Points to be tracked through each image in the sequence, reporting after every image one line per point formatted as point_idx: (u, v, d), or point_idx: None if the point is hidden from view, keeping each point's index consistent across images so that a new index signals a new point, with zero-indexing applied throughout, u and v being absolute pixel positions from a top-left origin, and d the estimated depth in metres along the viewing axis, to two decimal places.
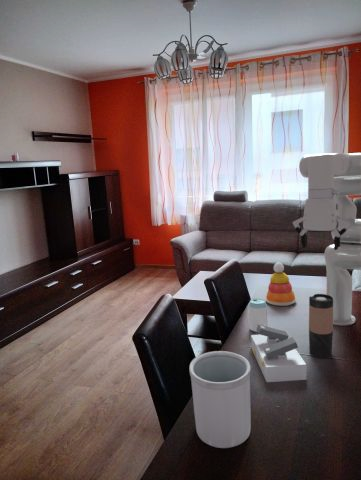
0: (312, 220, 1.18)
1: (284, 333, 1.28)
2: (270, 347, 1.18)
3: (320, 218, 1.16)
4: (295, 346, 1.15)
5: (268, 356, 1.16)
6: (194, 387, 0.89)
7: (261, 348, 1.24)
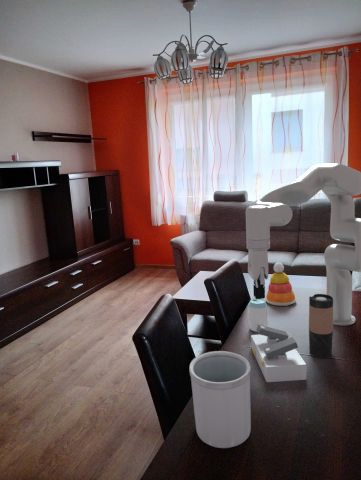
0: None
1: (284, 333, 1.28)
2: (270, 347, 1.18)
3: None
4: (295, 346, 1.15)
5: (268, 356, 1.16)
6: (194, 387, 0.89)
7: (261, 348, 1.24)
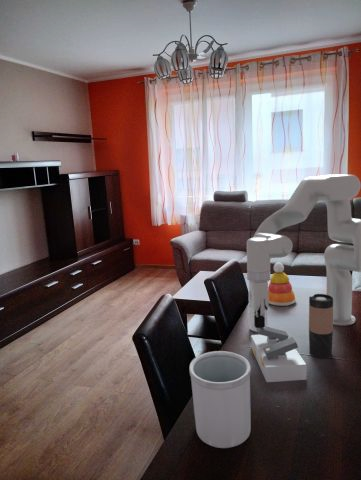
0: None
1: (284, 333, 1.28)
2: (270, 347, 1.18)
3: None
4: (295, 346, 1.15)
5: (268, 356, 1.16)
6: (194, 387, 0.89)
7: (261, 348, 1.24)
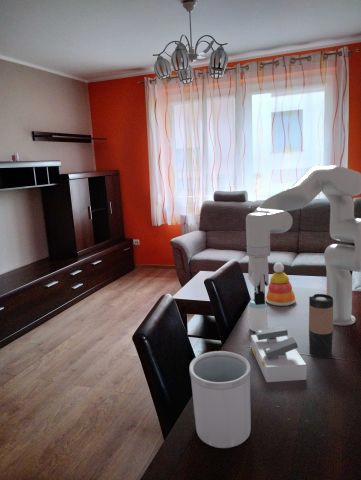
0: None
1: (282, 328, 1.27)
2: (270, 347, 1.18)
3: None
4: (295, 346, 1.15)
5: (268, 356, 1.16)
6: (194, 387, 0.89)
7: (261, 348, 1.24)
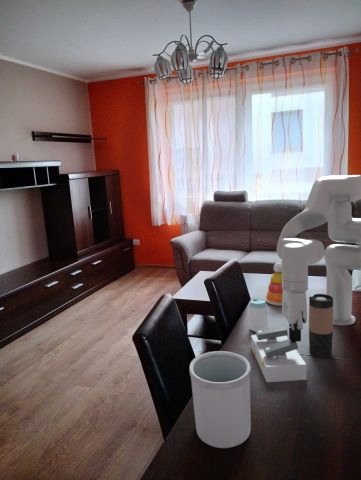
0: None
1: (282, 328, 1.27)
2: (270, 346, 1.18)
3: None
4: (295, 347, 1.15)
5: (268, 355, 1.16)
6: (194, 387, 0.89)
7: (261, 348, 1.24)
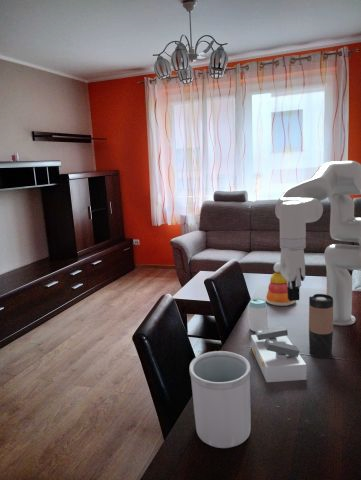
0: None
1: (282, 328, 1.27)
2: (273, 342, 1.17)
3: None
4: (296, 354, 1.16)
5: (269, 347, 1.15)
6: (194, 387, 0.89)
7: (261, 348, 1.24)
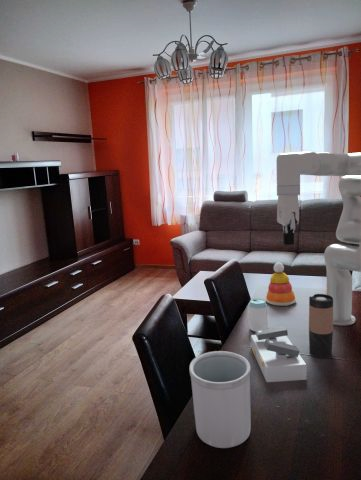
0: None
1: (282, 328, 1.27)
2: (273, 342, 1.17)
3: None
4: (296, 354, 1.16)
5: (269, 347, 1.15)
6: (194, 387, 0.89)
7: (261, 348, 1.24)
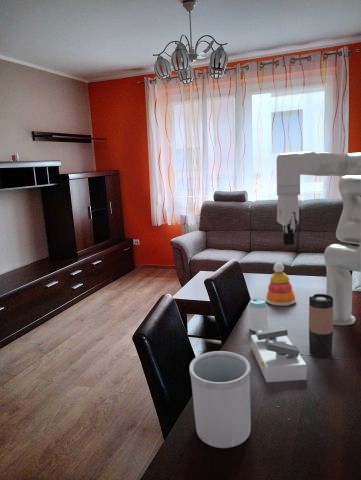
0: None
1: (282, 328, 1.27)
2: (273, 342, 1.17)
3: None
4: (296, 354, 1.16)
5: (269, 347, 1.15)
6: (194, 387, 0.89)
7: (261, 348, 1.24)
